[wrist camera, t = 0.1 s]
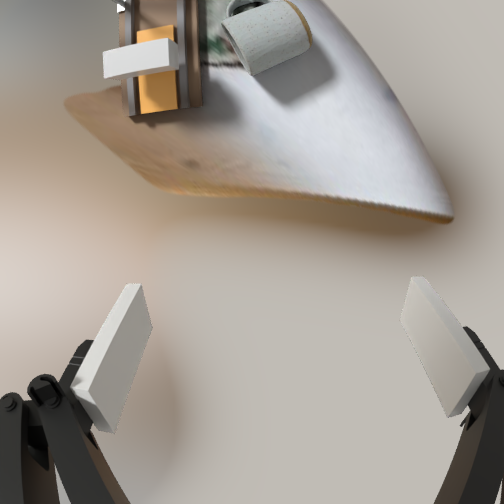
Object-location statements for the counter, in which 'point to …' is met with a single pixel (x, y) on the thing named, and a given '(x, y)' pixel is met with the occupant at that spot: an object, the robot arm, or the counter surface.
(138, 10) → the brown piece
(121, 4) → the keeper hook
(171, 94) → the white block on base
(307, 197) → the counter surface
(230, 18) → the ceramic mug
